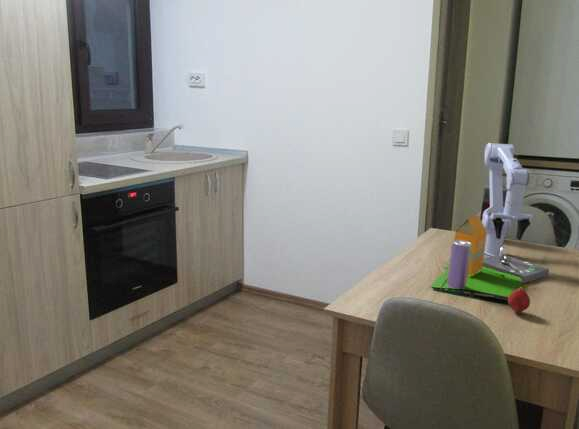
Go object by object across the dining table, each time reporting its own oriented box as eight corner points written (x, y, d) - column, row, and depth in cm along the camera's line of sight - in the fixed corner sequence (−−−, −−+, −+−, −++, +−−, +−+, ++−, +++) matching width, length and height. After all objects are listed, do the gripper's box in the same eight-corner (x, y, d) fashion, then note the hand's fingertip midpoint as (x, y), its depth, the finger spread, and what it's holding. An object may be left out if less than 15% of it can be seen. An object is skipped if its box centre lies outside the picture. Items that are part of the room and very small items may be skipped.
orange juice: (481, 272, 187) (489, 217, 182) (470, 277, 180) (479, 220, 176) (460, 266, 192) (468, 212, 187) (449, 271, 185) (457, 216, 181)
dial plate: (474, 266, 192) (475, 259, 192) (500, 260, 202) (501, 253, 201) (522, 283, 177) (524, 276, 177) (548, 275, 187) (549, 268, 186)
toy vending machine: (504, 244, 223) (514, 179, 217) (476, 239, 228) (486, 175, 222) (506, 239, 231) (516, 176, 225) (479, 235, 236) (488, 173, 229)
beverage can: (455, 291, 167) (462, 246, 163) (442, 284, 172) (448, 240, 168) (469, 289, 169) (476, 244, 166) (456, 282, 175) (462, 239, 171)
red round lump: (502, 308, 155) (506, 282, 153) (521, 308, 156) (525, 283, 154) (512, 316, 150) (516, 290, 148) (531, 317, 150) (536, 291, 148)
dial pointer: (495, 257, 195) (496, 246, 194) (505, 258, 195) (507, 247, 194) (510, 270, 181) (512, 258, 180) (522, 270, 182) (524, 259, 181)
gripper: (498, 203, 185) (493, 240, 188) (539, 205, 186) (532, 242, 189) (490, 199, 192) (485, 235, 195) (529, 201, 193) (523, 237, 196)
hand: (508, 238), depth 193 cm, fingers open, 7 cm apart
